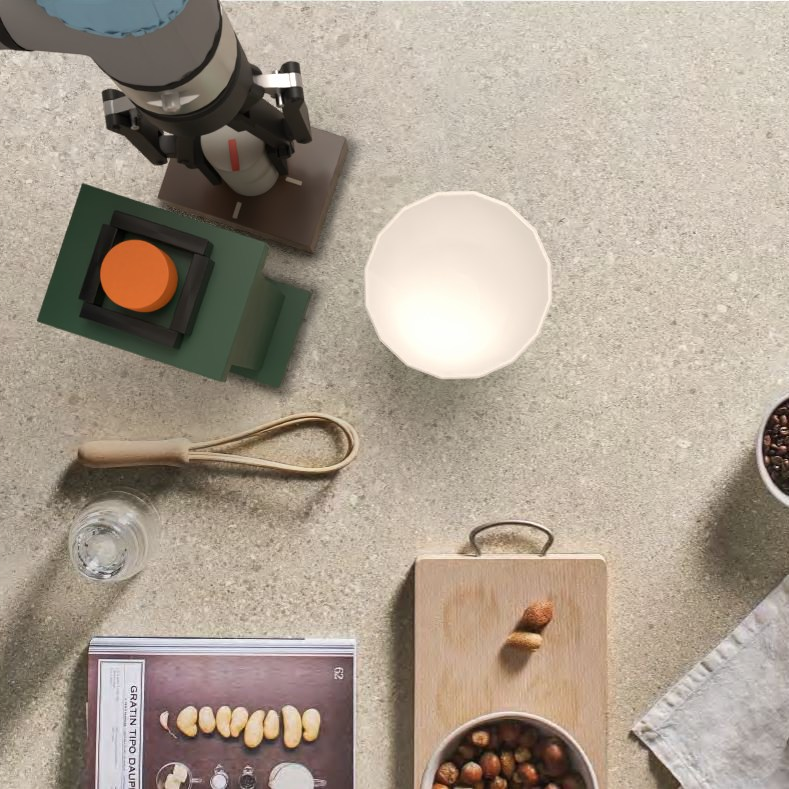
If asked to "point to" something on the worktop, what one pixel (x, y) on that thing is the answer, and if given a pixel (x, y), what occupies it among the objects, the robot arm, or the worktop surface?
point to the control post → (177, 293)
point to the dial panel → (267, 194)
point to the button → (138, 276)
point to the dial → (240, 160)
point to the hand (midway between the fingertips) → (248, 164)
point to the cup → (457, 284)
